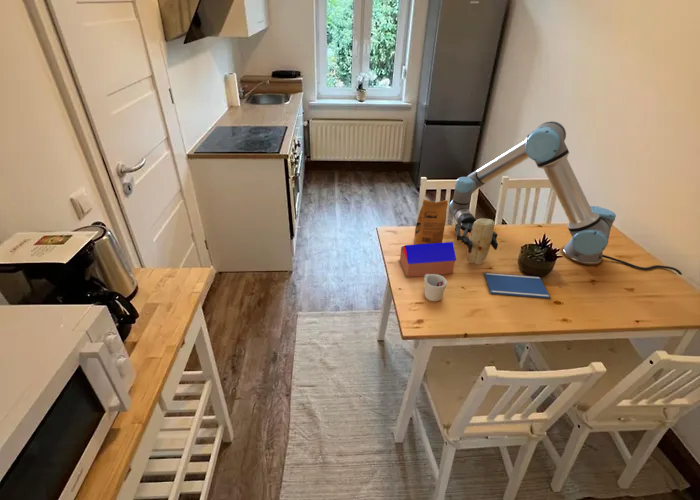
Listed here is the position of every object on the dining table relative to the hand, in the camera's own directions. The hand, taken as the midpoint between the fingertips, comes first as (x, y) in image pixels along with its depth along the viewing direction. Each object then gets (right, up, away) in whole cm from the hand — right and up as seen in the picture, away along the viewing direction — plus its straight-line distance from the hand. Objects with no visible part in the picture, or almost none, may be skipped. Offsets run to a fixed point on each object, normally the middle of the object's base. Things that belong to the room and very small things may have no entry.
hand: (483, 247), depth 154 cm
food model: (-1, -6, +9) cm, 11 cm away
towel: (+12, -15, -2) cm, 19 cm away
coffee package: (-18, +2, +23) cm, 29 cm away
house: (-22, -8, +7) cm, 25 cm away
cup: (-23, -18, -8) cm, 30 cm away
